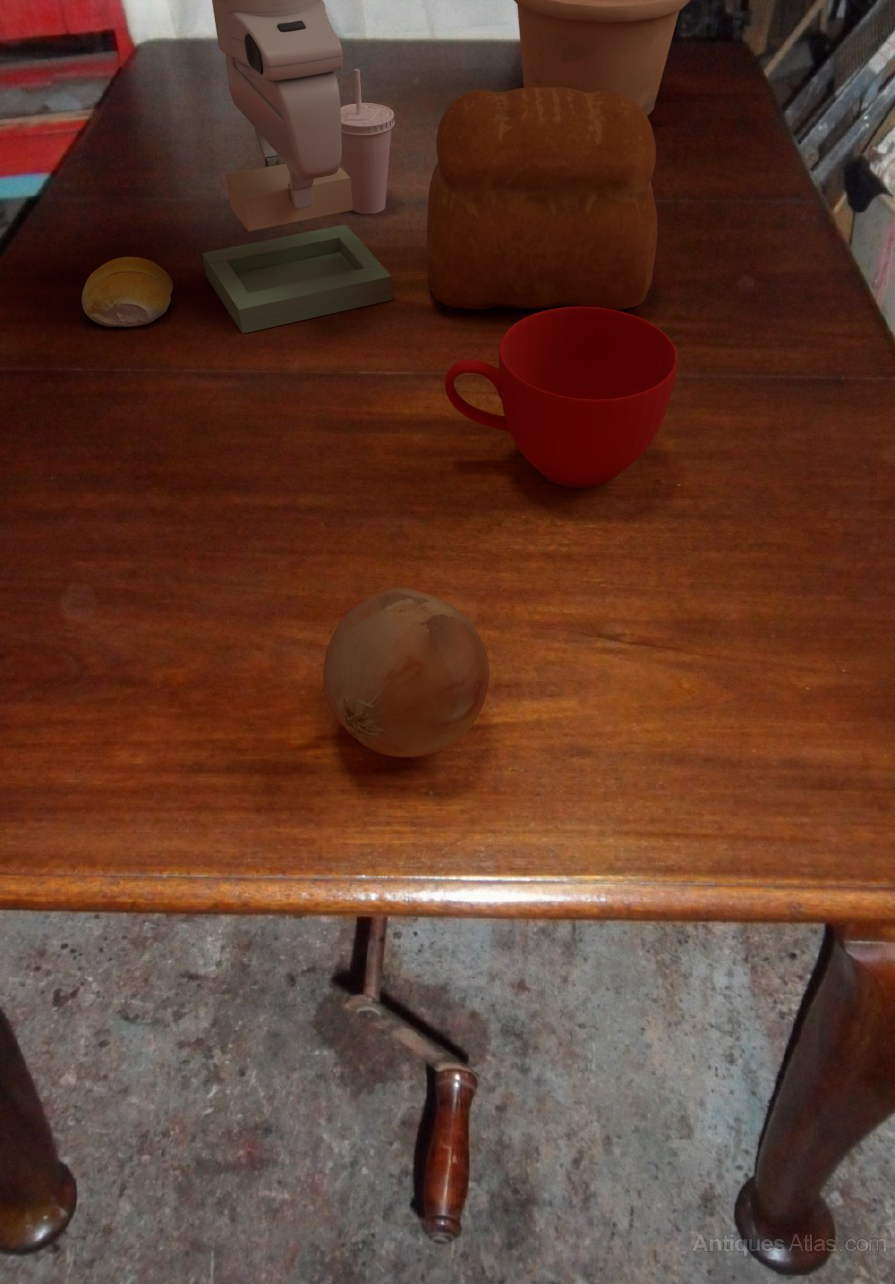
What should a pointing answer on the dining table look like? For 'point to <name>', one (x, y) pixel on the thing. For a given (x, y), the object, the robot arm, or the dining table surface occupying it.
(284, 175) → the cream pad
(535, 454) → the ceramic cup
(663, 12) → the pottery
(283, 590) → the dining table surface
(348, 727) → the mottled brown ball
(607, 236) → the bread
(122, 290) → the bread roll
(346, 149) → the smoothie
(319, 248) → the base pad
